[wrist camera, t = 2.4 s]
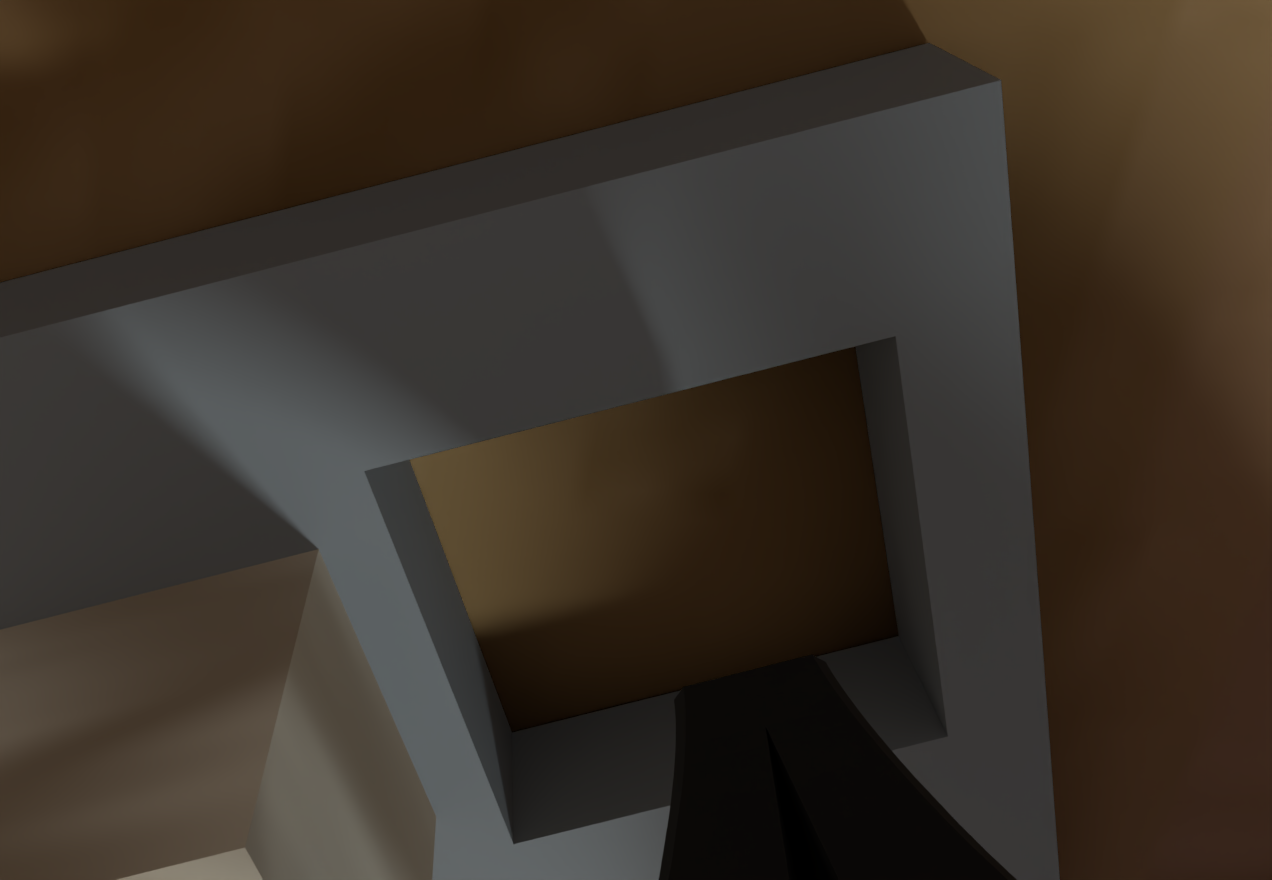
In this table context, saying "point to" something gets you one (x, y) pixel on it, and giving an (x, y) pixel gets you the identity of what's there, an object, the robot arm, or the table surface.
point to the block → (205, 740)
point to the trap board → (559, 390)
